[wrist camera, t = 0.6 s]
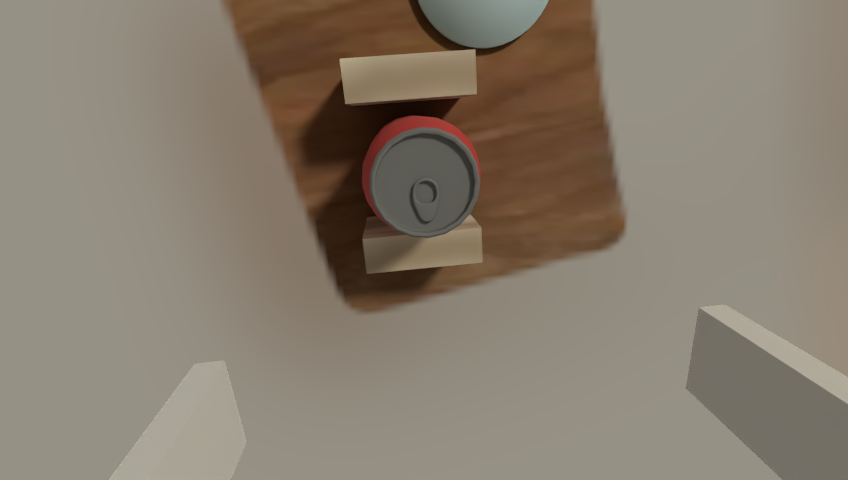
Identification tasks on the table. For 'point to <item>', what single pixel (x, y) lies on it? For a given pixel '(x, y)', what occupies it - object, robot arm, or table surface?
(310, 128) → the table surface
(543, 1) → the coaster
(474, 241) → the block
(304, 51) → the table surface
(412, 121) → the beer can
